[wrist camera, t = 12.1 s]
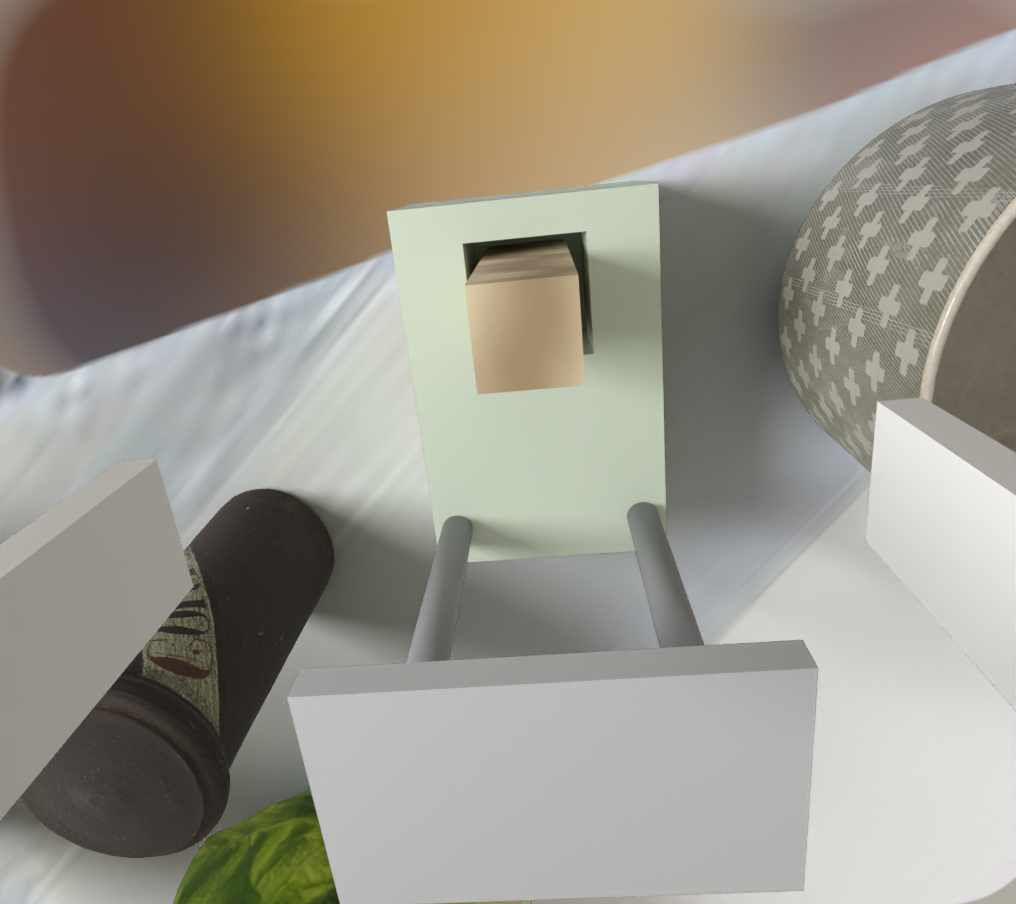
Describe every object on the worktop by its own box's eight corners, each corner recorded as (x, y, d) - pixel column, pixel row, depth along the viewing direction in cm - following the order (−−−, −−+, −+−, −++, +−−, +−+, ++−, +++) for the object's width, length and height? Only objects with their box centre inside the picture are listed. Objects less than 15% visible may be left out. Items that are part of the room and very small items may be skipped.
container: (307, 469, 45) (143, 682, 26) (362, 589, 48) (249, 858, 29) (183, 506, 46) (-58, 734, 27) (243, 621, 49) (63, 898, 30)
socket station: (665, 514, 45) (803, 890, 21) (441, 529, 46) (340, 906, 22) (657, 178, 38) (849, 194, 15) (393, 206, 39) (174, 262, 16)
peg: (497, 321, 40) (477, 394, 27) (489, 246, 39) (464, 285, 26) (569, 314, 40) (585, 385, 27) (564, 238, 38) (578, 274, 25)
